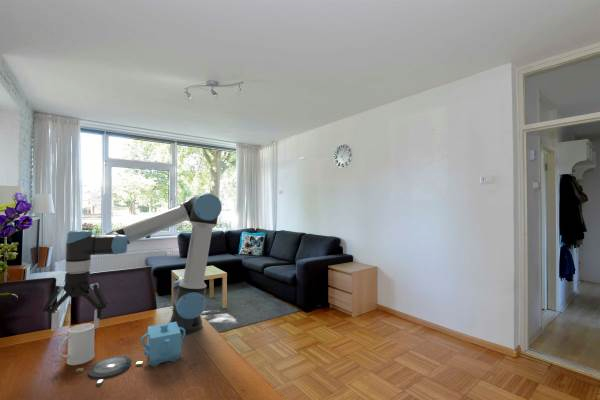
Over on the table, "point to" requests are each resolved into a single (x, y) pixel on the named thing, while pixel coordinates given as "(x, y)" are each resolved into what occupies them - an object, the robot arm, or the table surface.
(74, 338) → the mug
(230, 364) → the table surface
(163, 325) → the teapot
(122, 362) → the socket pad
